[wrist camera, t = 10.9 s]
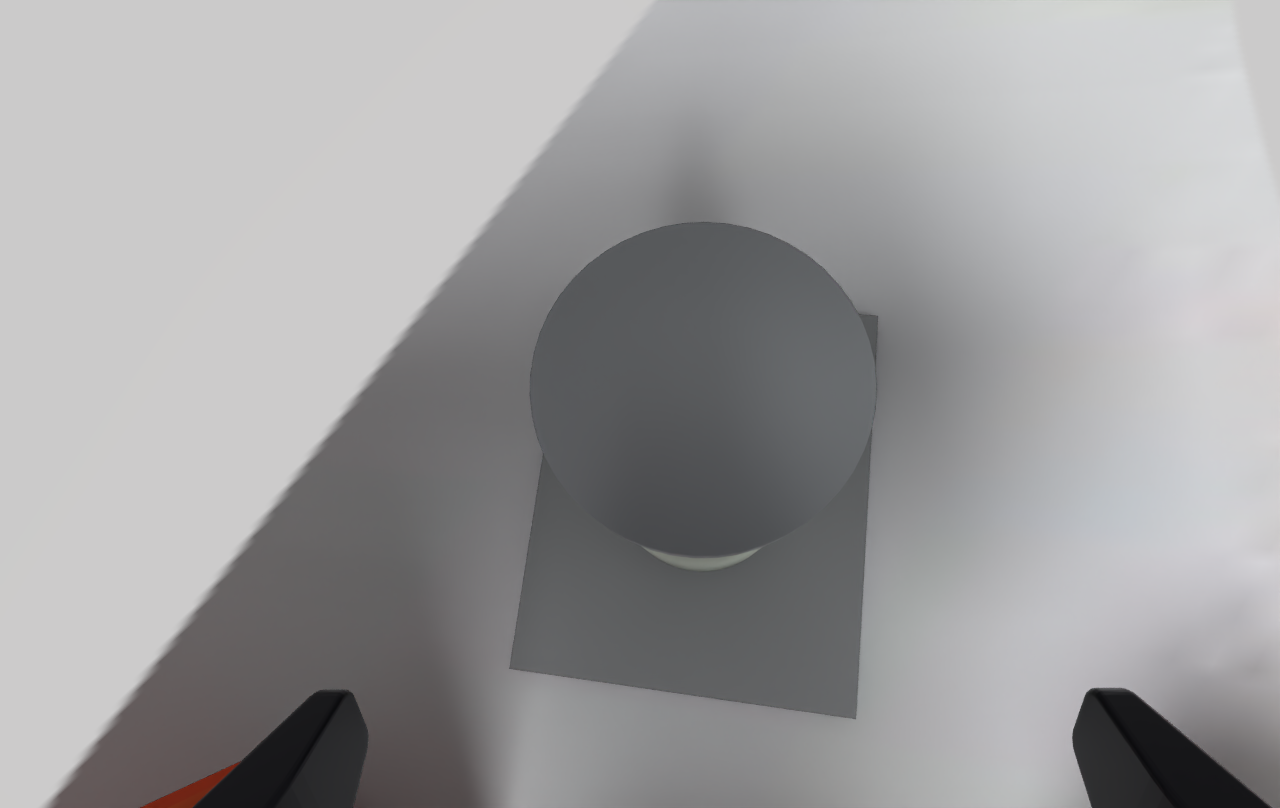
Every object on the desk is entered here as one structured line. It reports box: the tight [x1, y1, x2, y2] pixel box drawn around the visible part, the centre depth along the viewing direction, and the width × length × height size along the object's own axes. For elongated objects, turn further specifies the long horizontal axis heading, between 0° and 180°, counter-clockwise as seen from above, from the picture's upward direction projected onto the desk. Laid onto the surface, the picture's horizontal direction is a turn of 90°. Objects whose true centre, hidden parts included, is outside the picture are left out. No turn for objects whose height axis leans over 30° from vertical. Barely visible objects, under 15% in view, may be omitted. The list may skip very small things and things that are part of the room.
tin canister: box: [530, 222, 877, 572], centre depth 17 cm, size 5×5×12 cm
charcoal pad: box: [509, 314, 878, 719], centre depth 23 cm, size 12×10×1 cm
